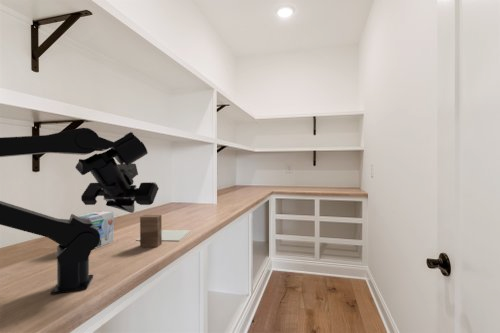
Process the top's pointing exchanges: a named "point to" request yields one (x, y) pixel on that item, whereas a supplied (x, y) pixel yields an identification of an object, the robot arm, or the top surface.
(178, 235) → the mat
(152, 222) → the walnut block
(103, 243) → the light bulb box
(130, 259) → the top surface
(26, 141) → the robot arm
